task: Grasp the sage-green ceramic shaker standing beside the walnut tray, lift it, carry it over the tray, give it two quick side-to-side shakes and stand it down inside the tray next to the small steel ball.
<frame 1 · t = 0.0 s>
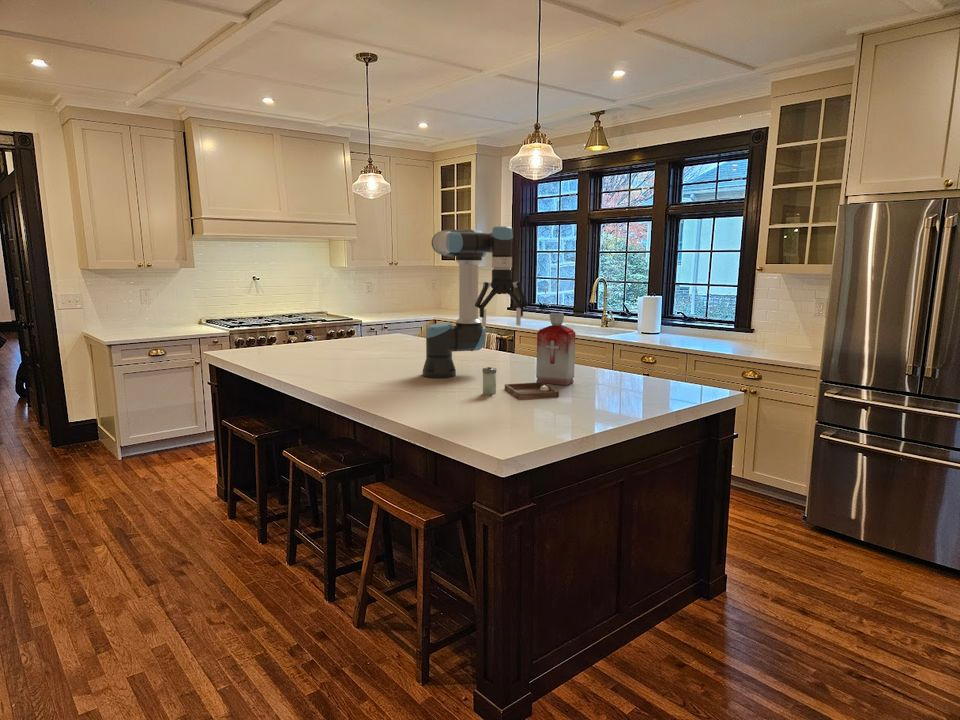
hand: (501, 325, 235), 28 cm above the worktop, fingers open, 13 cm apart
shaker: (489, 394, 246), on the worktop
tray: (530, 394, 247), on the worktop
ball: (544, 394, 244), resting on tray
bottle: (554, 383, 267), on the worktop
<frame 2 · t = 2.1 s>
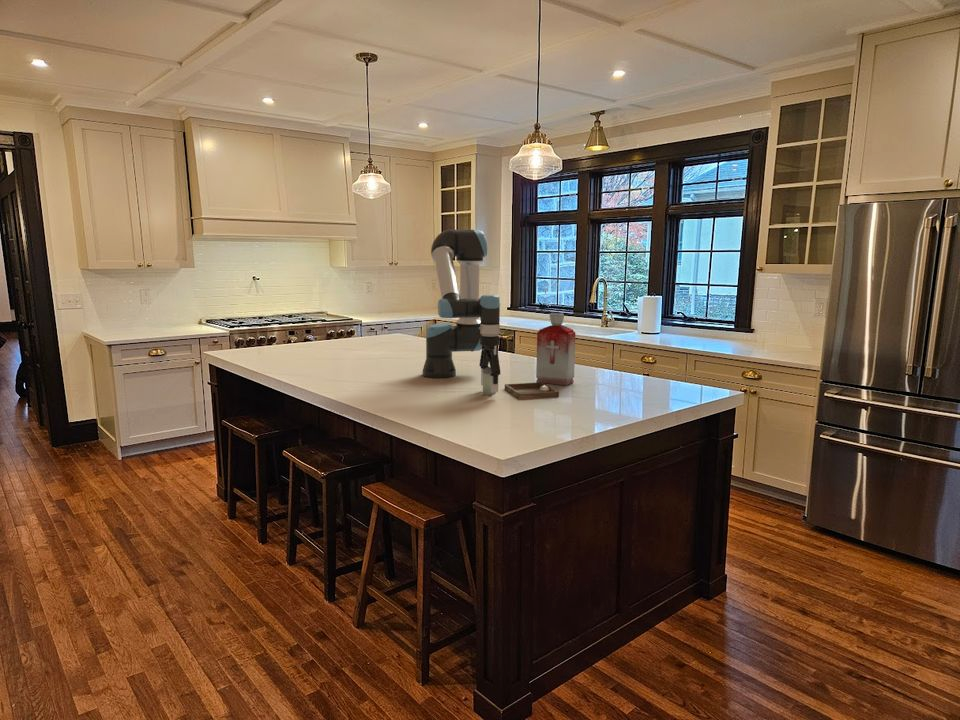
hand: (489, 388, 246), 2 cm above the worktop, fingers open, 13 cm apart
nothing on the worktop moved.
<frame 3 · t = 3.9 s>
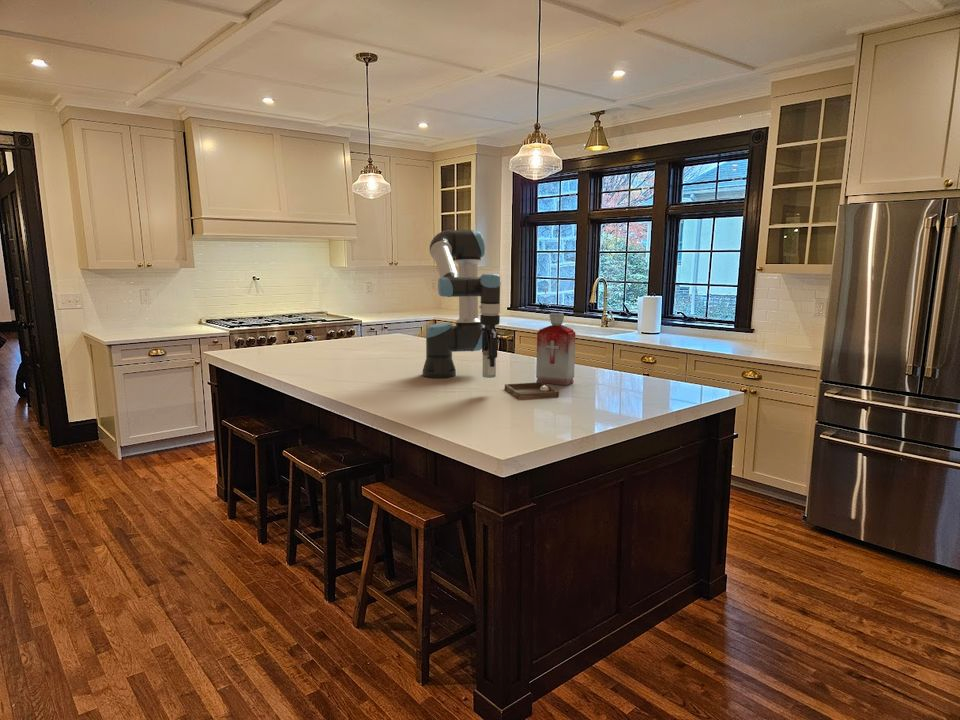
hand: (489, 372, 246), 8 cm above the worktop, fingers closed on shaker, 5 cm apart
shaker: (489, 376, 246), point 7 cm above the worktop, touching gripper
everything else where it was.
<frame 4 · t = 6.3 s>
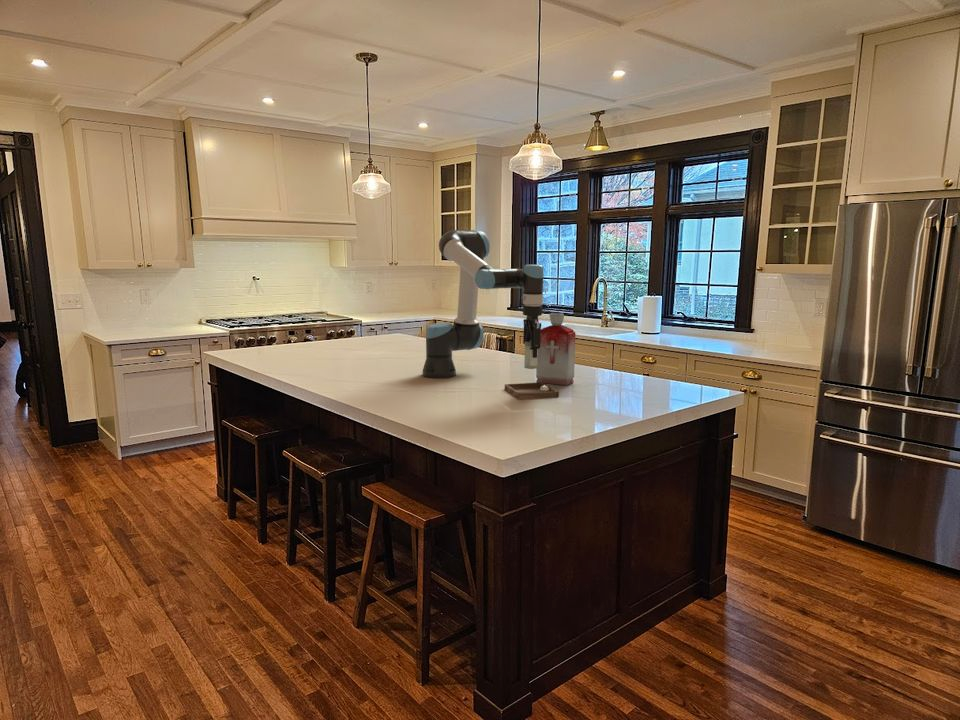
hand: (531, 364, 245), 12 cm above the worktop, fingers closed on shaker, 5 cm apart
shaker: (530, 367, 245), point 11 cm above the worktop, touching gripper
everything else where it was.
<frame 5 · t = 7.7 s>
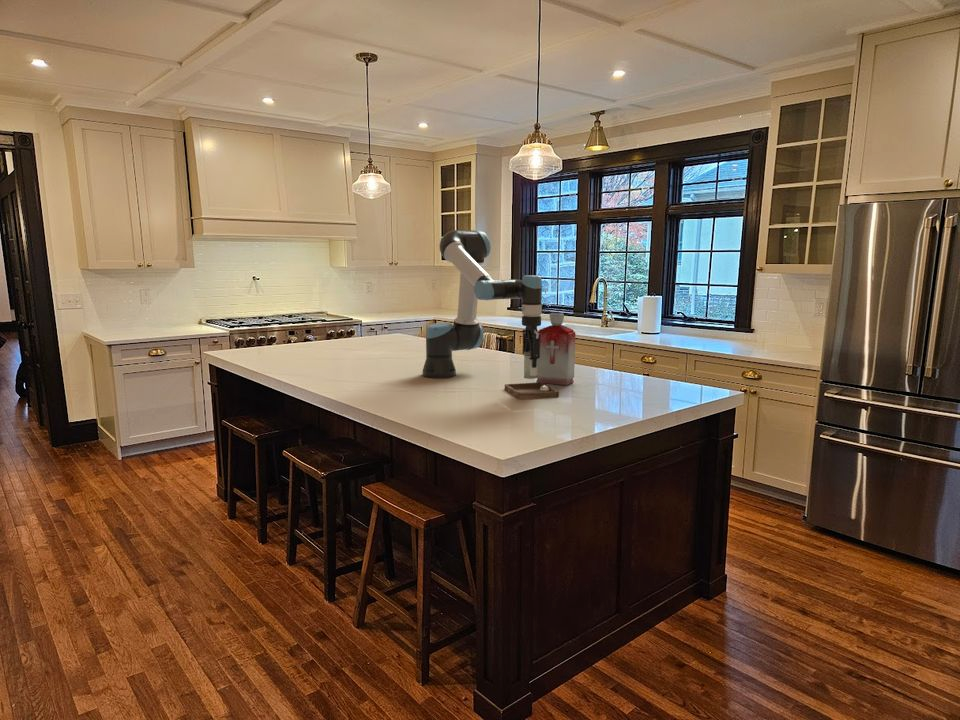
hand: (530, 374, 246), 8 cm above the worktop, fingers closed on shaker, 5 cm apart
shaker: (530, 377, 247), point 7 cm above the worktop, touching gripper
everything else where it was.
when the fingers open (2 cm above the worktop, at t = 8.9 s): shaker stays where it is, resting on tray.
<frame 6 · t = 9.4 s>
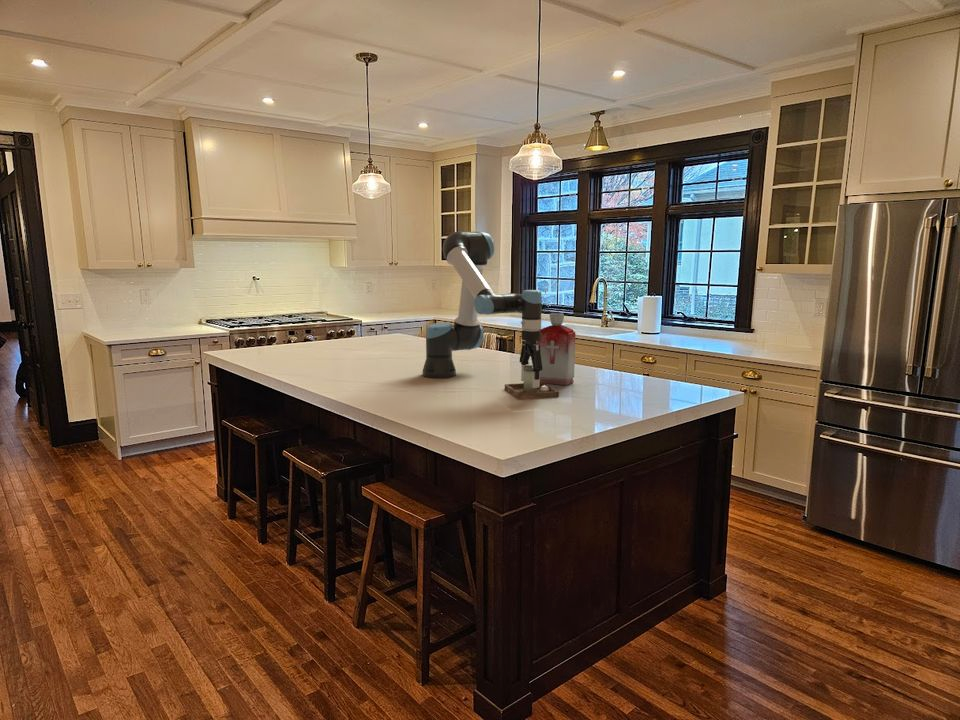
hand: (530, 384, 247), 4 cm above the worktop, fingers open, 12 cm apart
shaker: (529, 392, 248), point 1 cm above the worktop, touching tray
everything else where it was.
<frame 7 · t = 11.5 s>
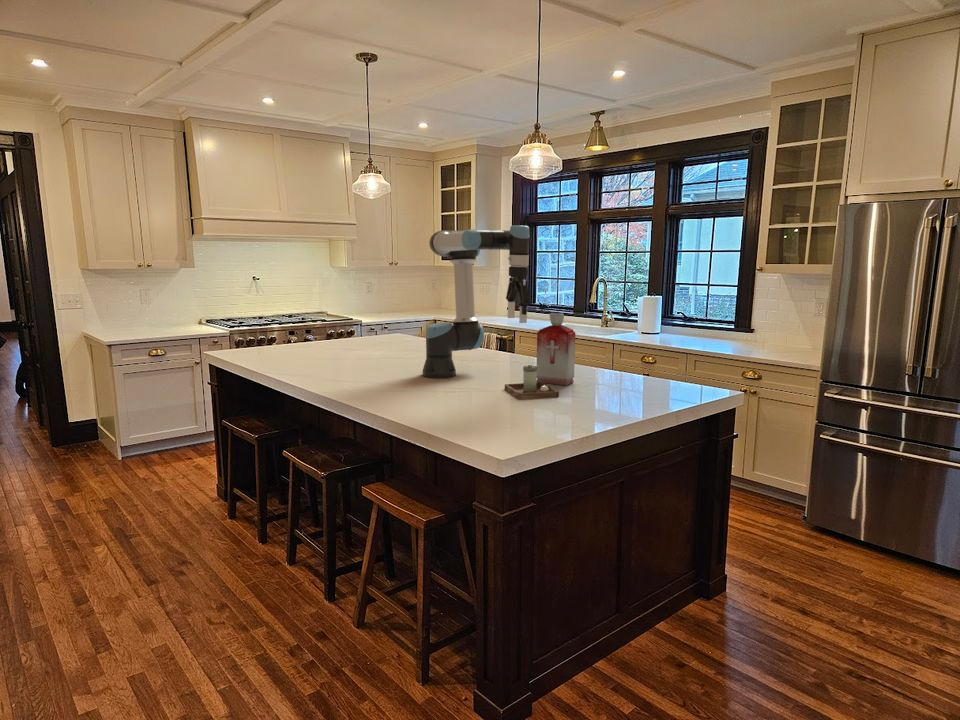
hand: (516, 320, 246), 29 cm above the worktop, fingers open, 13 cm apart
nothing on the worktop moved.
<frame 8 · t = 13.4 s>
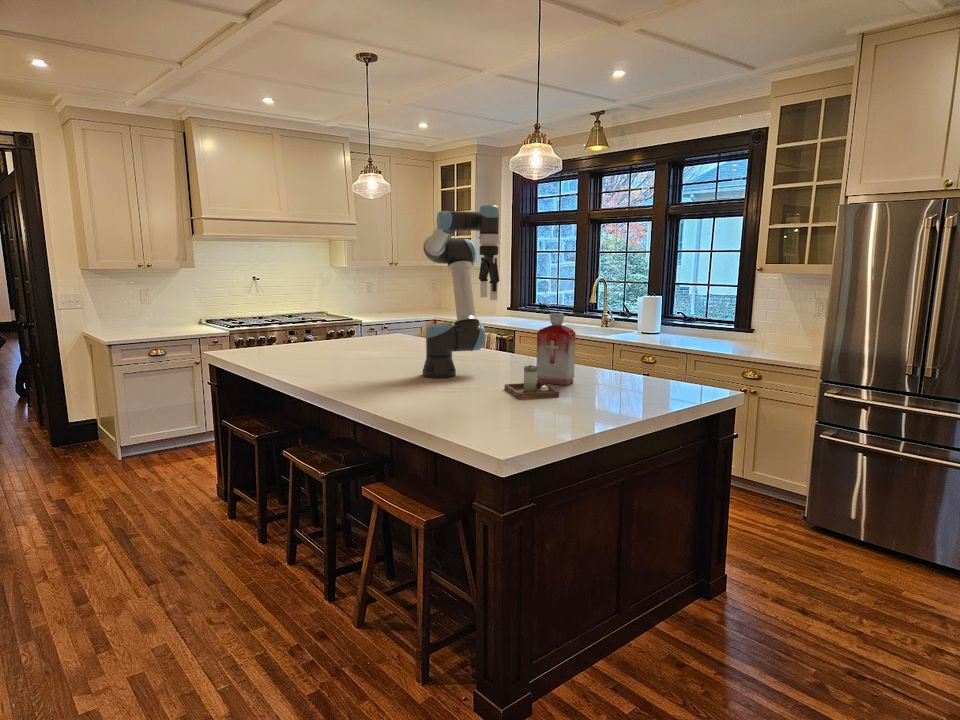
hand: (488, 298, 252), 37 cm above the worktop, fingers open, 13 cm apart
nothing on the worktop moved.
at the end: shaker inside the target area on the tray (1.1 cm from its centre), point 0.5 cm above the tray's base; shaker tilted 1°; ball inside the target area on the tray (5.7 cm from its centre), point 0.5 cm above the tray's base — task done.
